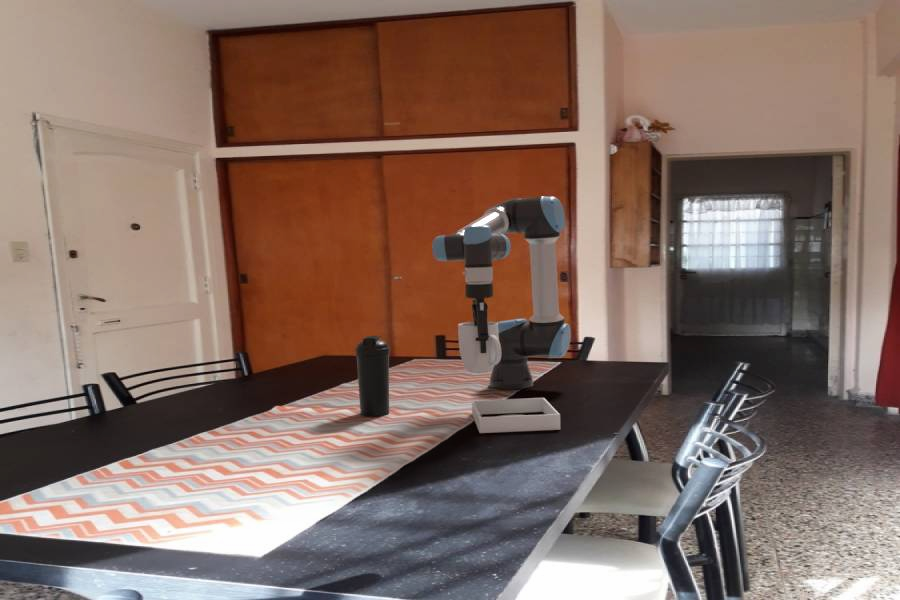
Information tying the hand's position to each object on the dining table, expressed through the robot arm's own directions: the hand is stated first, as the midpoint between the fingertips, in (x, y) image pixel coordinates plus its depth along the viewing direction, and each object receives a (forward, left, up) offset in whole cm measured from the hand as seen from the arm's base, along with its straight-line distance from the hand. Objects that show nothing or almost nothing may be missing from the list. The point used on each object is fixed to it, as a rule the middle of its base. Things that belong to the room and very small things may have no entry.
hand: (481, 361), depth 188 cm
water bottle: (-17, -30, -17) cm, 39 cm away
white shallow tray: (0, +9, -17) cm, 19 cm away
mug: (0, 0, -3) cm, 3 cm away
